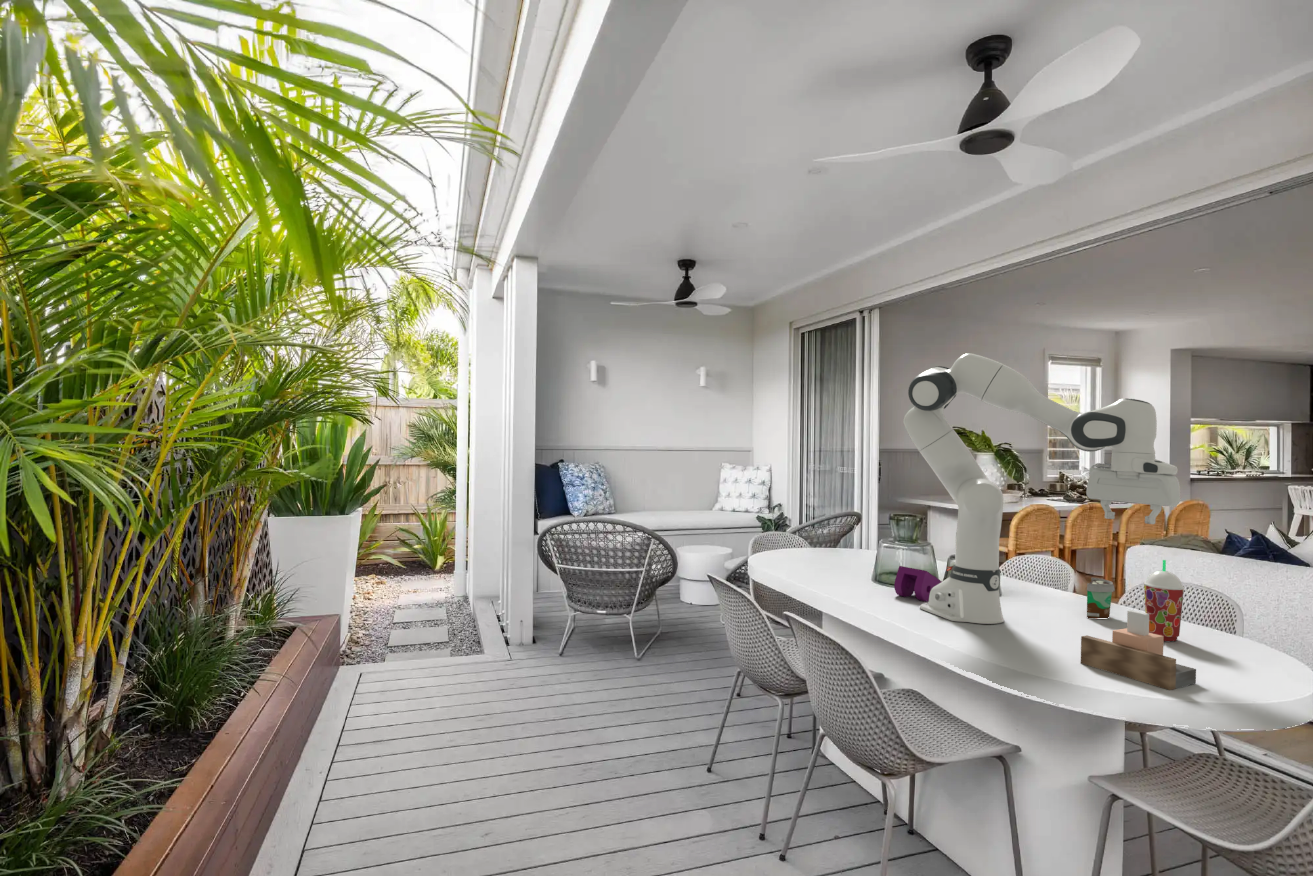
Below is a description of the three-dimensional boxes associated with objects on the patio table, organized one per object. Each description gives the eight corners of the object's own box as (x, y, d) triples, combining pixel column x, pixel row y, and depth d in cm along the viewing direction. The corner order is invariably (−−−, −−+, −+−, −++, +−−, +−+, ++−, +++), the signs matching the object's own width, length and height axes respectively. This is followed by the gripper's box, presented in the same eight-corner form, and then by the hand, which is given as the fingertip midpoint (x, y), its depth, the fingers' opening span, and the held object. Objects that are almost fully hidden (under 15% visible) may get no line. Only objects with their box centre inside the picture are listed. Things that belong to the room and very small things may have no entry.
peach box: (1112, 655, 152) (1113, 609, 152) (1128, 652, 154) (1129, 607, 154) (1146, 665, 145) (1147, 617, 145) (1162, 661, 148) (1164, 614, 148)
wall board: (1080, 663, 156) (1081, 636, 156) (1106, 658, 160) (1106, 631, 160) (1169, 690, 140) (1170, 660, 140) (1195, 683, 144) (1196, 654, 144)
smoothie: (1181, 638, 178) (1183, 559, 178) (1184, 645, 171) (1185, 564, 171) (1142, 632, 183) (1144, 556, 183) (1142, 639, 176) (1144, 560, 176)
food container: (1112, 623, 192) (1113, 586, 192) (1086, 619, 196) (1087, 583, 196) (1115, 614, 202) (1116, 580, 202) (1091, 611, 206) (1091, 577, 206)
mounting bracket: (921, 609, 228) (891, 591, 218) (928, 585, 230) (899, 565, 220) (948, 615, 220) (918, 597, 211) (955, 590, 222) (926, 570, 213)
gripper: (1082, 462, 179) (1079, 516, 179) (1170, 467, 161) (1166, 526, 161) (1097, 463, 182) (1094, 516, 182) (1185, 468, 164) (1182, 526, 164)
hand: (1129, 521), depth 171 cm, fingers open, 8 cm apart
